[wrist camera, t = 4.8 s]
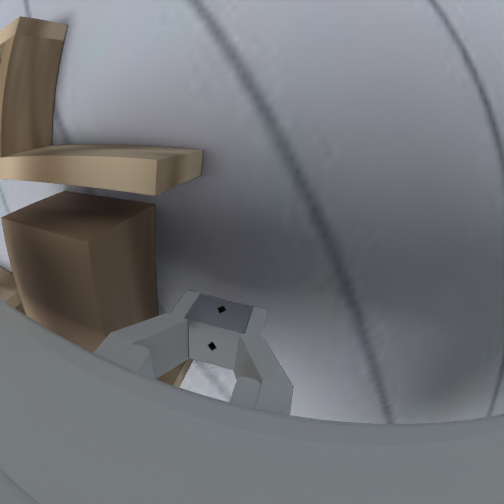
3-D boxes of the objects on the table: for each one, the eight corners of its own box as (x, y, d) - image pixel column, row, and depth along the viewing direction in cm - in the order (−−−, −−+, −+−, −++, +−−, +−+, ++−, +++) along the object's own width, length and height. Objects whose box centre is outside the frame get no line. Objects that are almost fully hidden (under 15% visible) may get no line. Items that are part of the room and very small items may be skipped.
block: (156, 203, 11) (87, 242, 7) (159, 314, 14) (116, 372, 10) (65, 190, 12) (1, 217, 8) (78, 286, 15) (31, 326, 11)
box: (228, -10, 7) (196, -54, 4) (194, 418, 18) (179, 455, 14) (-37, 87, 10) (-63, 92, 7) (-8, 310, 21) (-26, 325, 18)
